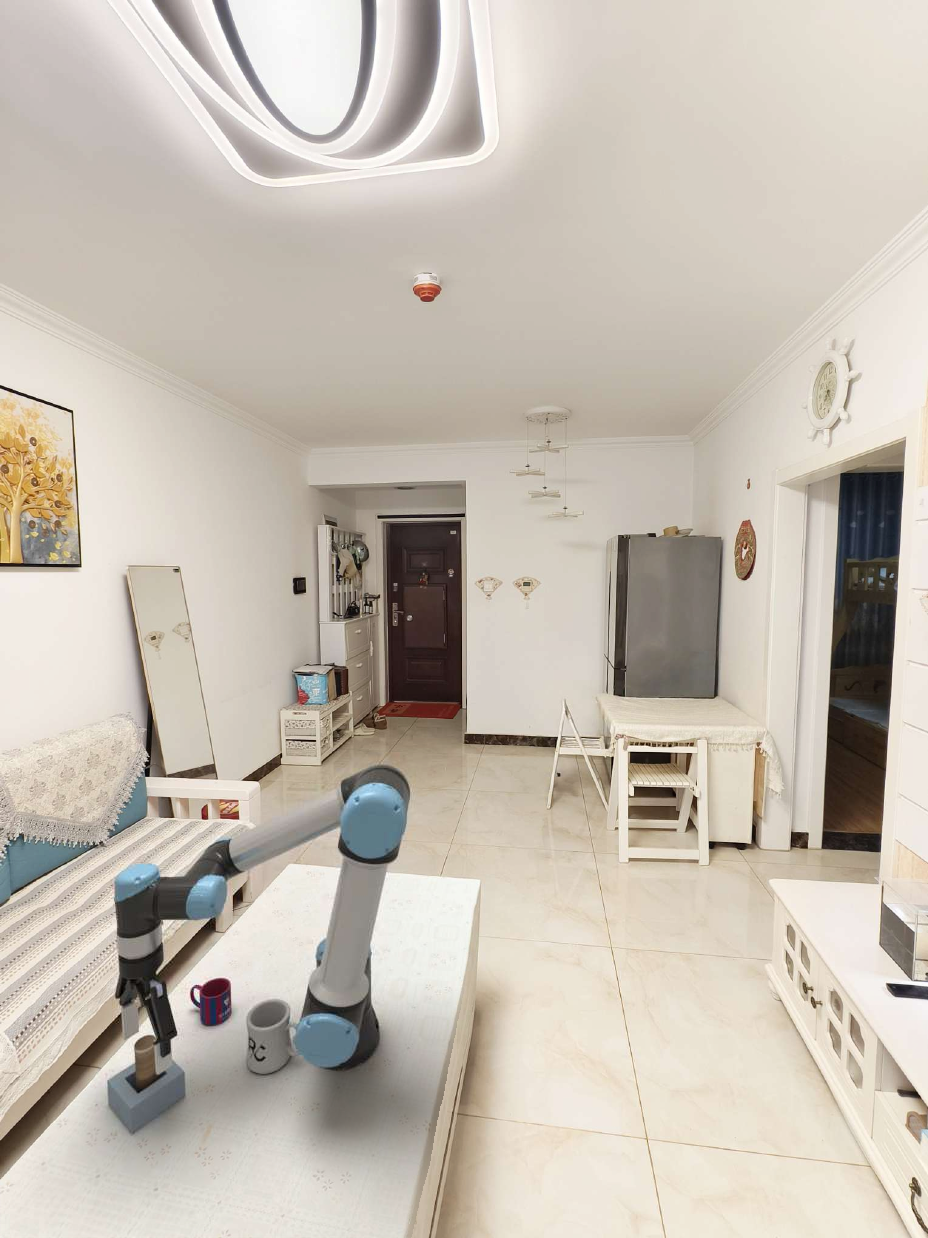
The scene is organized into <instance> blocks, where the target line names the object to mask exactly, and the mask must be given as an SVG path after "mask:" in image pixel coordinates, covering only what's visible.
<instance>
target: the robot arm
mask: <svg viewBox="0 0 928 1238" xmlns="http://www.w3.org/2000/svg"><path fill="white" fill-rule="evenodd" d="M410 789H411V788H410V785H409V781H408V779H407V778H406V776H405V775H404V774H403V772H402V771H401V770H399V769H398V768H396V767H394V766H392V765H389V764H377V765H372V766H369V767H367V768H365V769H362V770H361V771H358V772H356V773H355V774H352V775H351V776H348V777H347V778H344V779H342V780H340V782H339V783H338V786H337V787H336V788H335V789H333V790H330V791H328V792H326V793H324V794H322V795H319V796H317V797H315V798H314V799H311V800H308V801H307V802H304V803H303V804H300V805H298V806H296V807H294V808H292V809H290V810H288V811H286V812H284V813H282V814H280V815H277V816H275V817H273V818H272V819H271V818H270V819H269V820H267V821H265V822H263V823H261V824H258V825H256V826H255V827H252V828H249V830H246V831H244V832H242V833H240V834H238V835H235V836H233V837H221V838H219V839H217V840H215V841H214V842H213V843H212V844H209V846H207V848H206V849H205V850H204V851H203V853H202V854H201V856H199V858H198V859H197V860H196V862H195V863H194V864H193V865H192V866H191V867H190V869H189V870H188V871H187V872H186V873H185V874H184V875H182V876H179V875H178V876H161V872H160V869H159V866H158V865H156V864H154V863H151V862H143V863H142V862H141V863H138V864H137V863H136V864H133V865H130V866H129V867H126V868H124V869H123V870H121V872H118V874H117V875H116V877H115V879H114V896H113V902H114V907H115V919H116V920H115V921H116V933H115V934H116V947H117V948H116V950H117V953H118V955H117V956H118V972H119V973H118V979H117V984H116V988H115V993H114V998H115V999H116V1000H119V1001H118V1004H119V1006H120V1010H121V1011H120V1013H121V1027H122V1039H123V1040H124V1041H126V1040H128V1039H129V1038H131V1037H133V1036H135V1035H136V1034H138V1033H139V1032H140V1026H139V1023H140V1022H139V1011H138V1010H139V1009H138V1007H139V1006H138V1001H137V1000H136V999H137V998H138V999H139V1002H140V1005H141V1007H142V1008H145V1010H146V1013H147V1016H148V1019H149V1021H150V1024H151V1027H152V1030H153V1033H154V1036H155V1038H156V1039H155V1040H154V1043H153V1045H154V1050H155V1067H156V1074H157V1075H159V1074H160V1073H162V1072H163V1071H165V1070H166V1069H168V1068H169V1067H170V1066H172V1060H173V1055H172V1054H173V1052H172V1040H173V1039H174V1038H176V1037H177V1036H178V1031H177V1030H178V1029H177V1027H176V1023H175V1018H174V1015H173V1011H172V1007H171V1003H170V999H169V996H168V989H167V988H168V987H167V982H166V981H165V980H163V981H161V982H159V981H160V979H159V976H158V974H157V971H158V970H159V968H160V967H161V966H162V965H163V962H164V960H165V955H164V954H165V953H164V943H163V927H162V926H163V925H164V921H199V920H208V919H214V918H217V917H218V916H219V915H220V914H221V913H222V912H223V909H224V907H225V905H226V902H227V896H228V885H227V882H228V881H229V880H230V879H232V878H234V877H237V876H238V875H241V874H243V873H245V872H246V871H249V870H251V869H253V868H255V867H258V866H259V865H261V864H263V863H265V862H268V861H270V860H272V859H274V858H276V857H279V856H280V855H283V854H285V853H287V852H290V851H291V850H294V849H296V848H298V847H300V846H302V845H305V844H306V843H309V842H311V841H313V840H315V839H317V838H319V837H321V836H323V835H325V834H328V833H329V832H332V831H335V830H336V829H339V828H340V831H339V832H340V833H339V837H338V843H337V849H338V852H339V853H340V855H341V856H342V857H343V858H342V862H341V866H340V871H339V872H340V873H339V875H338V881H337V886H336V891H335V895H334V899H333V903H332V905H333V906H332V909H331V913H330V919H329V924H328V929H327V933H326V937H325V938H324V939H322V940H321V941H320V942H319V943H318V945H317V947H316V952H315V956H314V957H315V961H316V967H315V969H314V970H313V971H312V972H311V974H310V976H309V979H308V984H307V989H306V993H305V998H304V1002H303V1006H302V1011H301V1015H300V1019H299V1021H298V1023H297V1026H296V1029H295V1035H294V1036H295V1045H296V1046H295V1045H294V1046H295V1048H296V1051H298V1052H299V1054H300V1055H299V1056H302V1058H303V1060H305V1061H306V1062H307V1063H309V1064H311V1065H312V1066H316V1067H319V1068H325V1069H328V1070H335V1071H338V1070H339V1071H341V1070H342V1071H343V1070H348V1069H351V1068H354V1067H355V1068H356V1066H359V1065H361V1064H362V1063H364V1062H365V1061H367V1060H368V1059H369V1058H370V1057H372V1056H373V1054H374V1053H375V1052H376V1051H377V1048H378V1046H379V1043H380V1039H381V1038H380V1035H381V1033H380V1032H381V1029H380V1028H381V1027H380V1023H379V1020H378V1017H377V1014H376V1011H375V1010H374V1006H373V1004H372V954H373V952H372V950H371V949H372V948H371V944H372V939H373V934H374V930H375V925H376V921H377V916H378V912H379V907H380V902H381V899H382V897H381V896H382V893H383V888H384V885H385V884H384V883H385V880H386V875H387V870H388V866H389V865H390V864H392V863H394V862H395V861H396V860H397V859H398V856H399V852H400V847H401V843H402V841H403V840H402V839H403V836H404V834H405V832H406V828H407V822H408V811H409V810H408V809H409V804H410V800H411V790H410ZM149 997H150V998H149ZM147 998H148V999H147Z"/></svg>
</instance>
